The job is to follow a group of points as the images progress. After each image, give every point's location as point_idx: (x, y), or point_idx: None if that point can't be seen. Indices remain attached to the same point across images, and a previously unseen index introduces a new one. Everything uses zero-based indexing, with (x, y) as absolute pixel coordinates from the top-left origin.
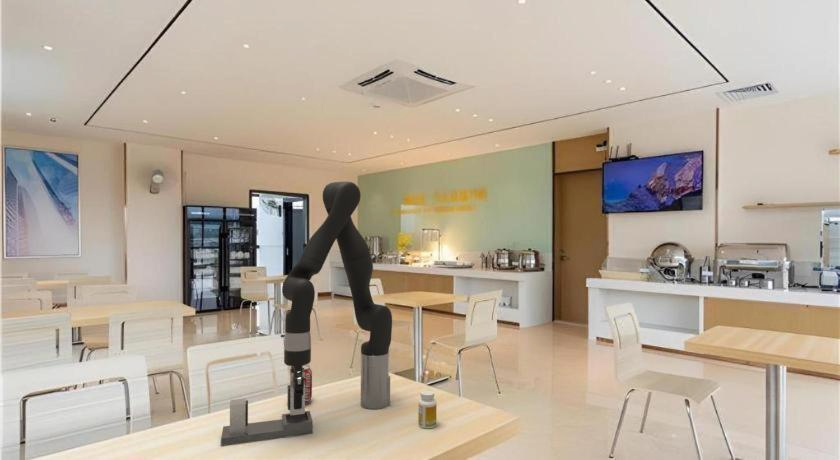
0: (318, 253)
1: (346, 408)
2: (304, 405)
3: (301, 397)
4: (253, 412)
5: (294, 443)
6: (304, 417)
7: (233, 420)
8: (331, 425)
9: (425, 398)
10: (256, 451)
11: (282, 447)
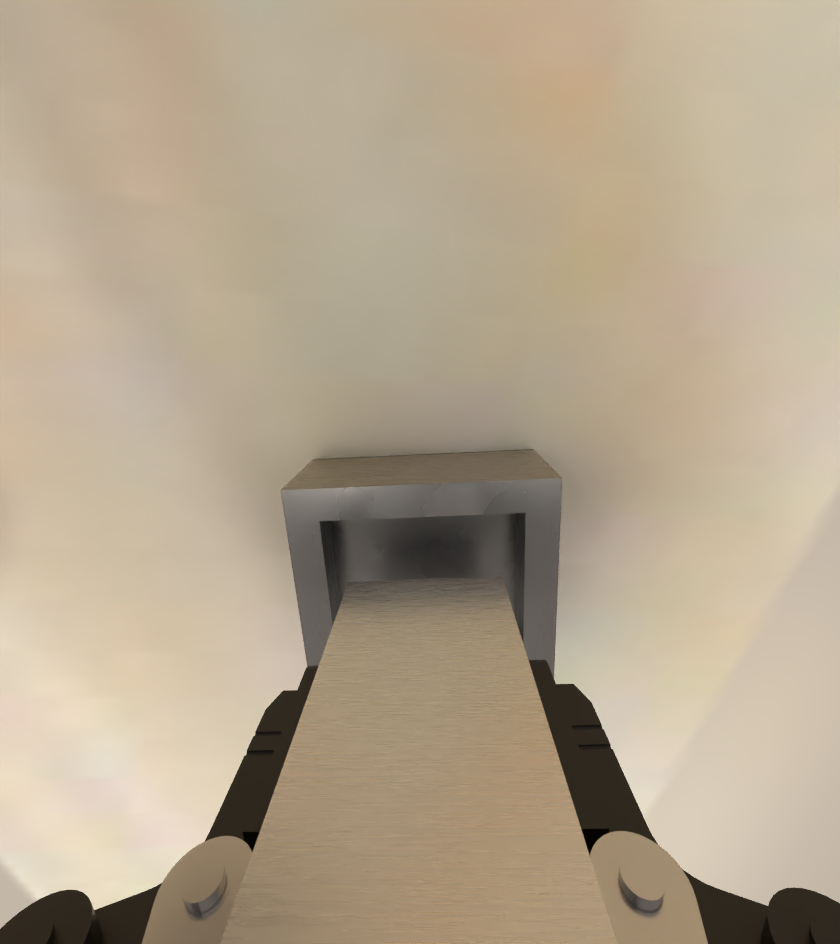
0: None
1: (7, 55)
2: (518, 638)
3: (594, 801)
4: (79, 791)
5: (648, 576)
6: (332, 521)
7: None
8: (417, 277)
9: None
10: (662, 766)
11: (675, 644)
